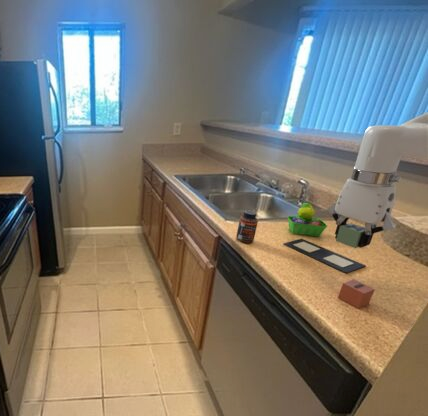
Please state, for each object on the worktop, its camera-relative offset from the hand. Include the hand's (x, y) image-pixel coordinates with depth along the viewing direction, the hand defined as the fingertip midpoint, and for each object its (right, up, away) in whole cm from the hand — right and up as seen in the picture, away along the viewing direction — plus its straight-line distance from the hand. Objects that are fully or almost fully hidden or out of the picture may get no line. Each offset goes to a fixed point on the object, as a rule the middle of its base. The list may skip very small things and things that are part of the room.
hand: (350, 241), depth 75 cm
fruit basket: (+13, -1, +35) cm, 37 cm away
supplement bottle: (-14, -3, +29) cm, 32 cm away
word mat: (+7, -7, +18) cm, 21 cm away
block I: (-2, -15, -3) cm, 16 cm away
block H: (0, 0, 0) cm, 0 cm away
